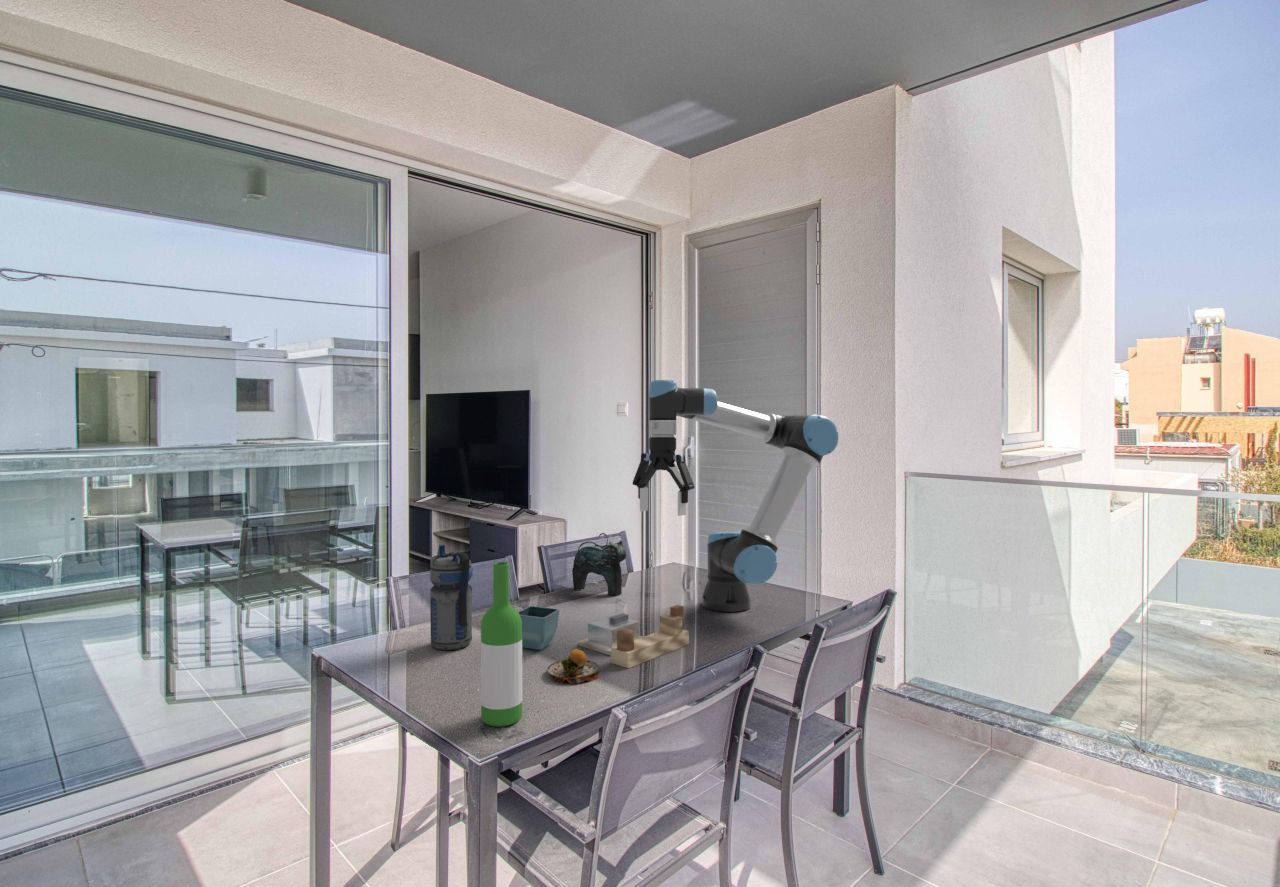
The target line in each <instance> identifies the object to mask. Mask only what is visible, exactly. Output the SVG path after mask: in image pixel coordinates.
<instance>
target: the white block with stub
mask: <svg viewBox="0 0 1280 887" xmlns="http://www.w3.org/2000/svg"><path fill="white" fill-rule="evenodd" d="M622 629H629V630H633V631H634V640H636V639H638V638H639V636H640V621H638V620H636V619H632V618H629V614H626V613H619V614H617V615H616V614H614V615H611V616H608V617H605V618H601V619H598V620H594V621H592V622H588V623H587V638H588V641H590V642H593V643H597V644H600V645H603V646H606V647H610V648H613V647H616V646H617V631H618V630H622Z"/></svg>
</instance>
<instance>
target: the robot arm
mask: <svg viewBox="0 0 1280 887" xmlns="http://www.w3.org/2000/svg"><path fill="white" fill-rule="evenodd" d="M648 391H649V392H648V406H649V407H648V409H649V410H648V412H649V413H648V415H649V418H648V421H649V423H648V426H649V427H648V430H649V432H648V434H649V435H650V437H649V438H648V449H649V451H650V452H642V453H641V454H640V462H639V464H638V467H637V469H636V472H635V476H634V477H633V480H632V482H631V483H632V485H633V486H636V487H637V488H638V490H637V491H638V492H637V493H638V496H637V498H638V499H639V512H647V511H649V487H648V486H647V485H648V484H649V482H650V481H651V480H652V478H653V477H654V475H655V474H656V472H657V471H666V472H668V473H669V475H670V476H671V478H672V480H673V481H674V482H675V484H676V485H677V487H678V489H679V491H677V516H678V517H681V516H686V515H687V503H689V491H690V490H694V489H695V487H696V486H695V484H694V482H693V478H692V476H691V474H690V471H689V469H688V465H687V463H686V456H685V454H682V453H681V454H676V450H677V437H675V436H676V435H677V417H681V418H683V419H688V420H692V421H696V422H699V423H703V424H707V425H709V426H710V425H711V426H714V427H717V428H721V429H723V430H724V429H725V430H728V431H731V432H735V433H739V434H743V435H746V436H751V437H754V438H757V439H758V440H759V441H760V442H761V443H762V444H767V445H769V446H772V447H776V448H778V449H781V450H783V453H784V457H783V458H782V461H781V463H780V465H779V467H778V469H777V471H776V473H775V475H774V477H773V479H772V481H771V483H770V485H769V487H768V489H767V491H766V493H765V495H764V496H763V499H762V501H761V503H760V505H759V507H758V509H757V511H756V512H755V515H754V517H753V518H752V521H751V522H750V525H749V526H747V527H744V528H742V529H741V531H738V530H737V531H735V530H734V531H718V532H717V531H716V532H715V531H714V532H711V533H709V534H708V537H707V543H706V544H707V545H706V547H707V581H706V585H705V587H704V590H703V593H702V596H701V606H702V607H703V608H705V609H706V610H711V611H715V612H722V613H723V612H724V613H725V612H726V613H735V612H743V611H747V610H749V609H751V607H752V599H751V595H750V593H749V588H748V586H747V584H749V585H754V586H755V585H756V586H757V585H761V584H764V583H766V582H768V581H769V580H770V579H771V578H773V576H774V574H775V572H776V571H777V567H778V560H777V558H778V557H777V555H776V553H777V551H778V550H779V545H778V542H777V539H778V537H779V535H780V533H781V531H782V529H783V527H784V525H785V523H786V521H787V519H788V516H789V515H790V512H792V511H791V510H792V509H793V506H794V505H795V503H796V501H797V498H798V496H799V495H800V493H801V491H802V489H803V486H804V484H805V482H806V481H807V478H808V476H809V474H810V472H811V471H812V469H813V468H815V467H818V466H819V465H820V464H821V462H822V460H823V457H824V456H828V455H829V454H831V453H832V452H834V451H835V449H836V448H837V446H838V443H839V432H838V430H837V426H836V424H835V423H834V421H833V420H832V419H831V418H829V417H827V416H824V415H820V414H809V415H808V414H807V415H804V414H802V415H781V414H776V413H772V412H769V413H766V414H763V413H760V412H756V411H754V410H753V411H752V410H750V409H745V408H742V407H740V406H735V405H732V404H727V403H724V402H721V401H720V400H719V401H718V399H719V398H718V395H717V392H716V391H715V390H714V389H713V388H705V387H703V388H701V387H699V388H698V387H693V388H691V387H687V388H686V387H684V388H683V387H678V385H677V381H676V380H672V379H671V380H670V379H657V380H656V379H655V380H651V382H650V383H649V389H648ZM675 462H676V463H675Z"/></svg>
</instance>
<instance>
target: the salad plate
mask: <svg viewBox="0 0 1280 887" xmlns="http://www.w3.org/2000/svg"><path fill="white" fill-rule="evenodd" d="M582 648H585V647H584V646H583V647H582ZM599 669H600V666H599V664H598V663H596V662H594V661H591V660H588V656H587V654H586V653H585V652H584V651H583V650H582V649H581V650H580V649H576V648H575V649H572V650H571V651H570V652H569V655H568V656H567V657H566V658H564V660H560V661H559V660H558V661H555V662H553V663H552V664H550V665H549V666H547V672H548V675H550V676H552V677H553V678H554V683H555V684H556V683H557V684H558V685H559V684H561V685H564V682H565V681H567V682H568V683H569V684H570V685H576V684H577V685H579V684H580V683H584V682H585V681H587V682H588V683H590V682H593V681H594V680H595V679H598V678H599V676H600V674H601V673H600V671H599Z"/></svg>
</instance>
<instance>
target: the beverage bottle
mask: <svg viewBox="0 0 1280 887" xmlns="http://www.w3.org/2000/svg"><path fill="white" fill-rule="evenodd" d="M437 549H438V550H437V553H436V554H437V555H433V556H431V557H430V564H429V565H430V566H429V569H430V570H429V572H430V573H429V578H430V580H429V581H430V582H431V583H432V585H433V586H432V587H431V588H430V589H429V591H430V592H429V593H430V596H429V597H430V607H429V609H430V613H429V615H430V644H431V647H433V648H435V649H437V650H441V651H454V650H460V649H463V648H465V647H467V646H469V645H470V644H471V642H472V640H473V608H472V607H473V601H472V600H473V599H472V598H473V594H472V593H473V592H472V590H473V589H472V585H470V584H469V582H470V581H471V580H472V577H473V571H474V570H473V567H472V560H471V559H470V558H469V555H468V554H467V553H465V552H462V551H458V552H454V551H453V552H452V551H451V552H448V553H446V545H445V544H441V545H438V548H437Z"/></svg>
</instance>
